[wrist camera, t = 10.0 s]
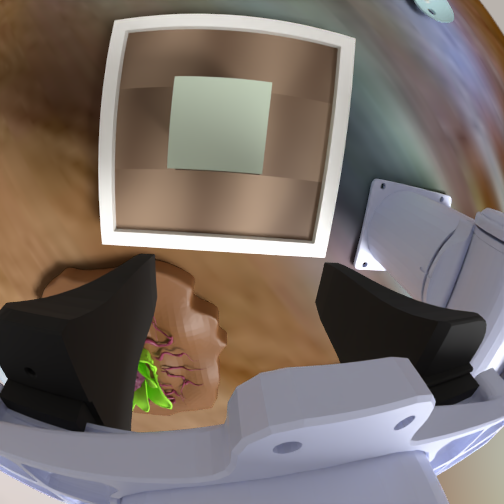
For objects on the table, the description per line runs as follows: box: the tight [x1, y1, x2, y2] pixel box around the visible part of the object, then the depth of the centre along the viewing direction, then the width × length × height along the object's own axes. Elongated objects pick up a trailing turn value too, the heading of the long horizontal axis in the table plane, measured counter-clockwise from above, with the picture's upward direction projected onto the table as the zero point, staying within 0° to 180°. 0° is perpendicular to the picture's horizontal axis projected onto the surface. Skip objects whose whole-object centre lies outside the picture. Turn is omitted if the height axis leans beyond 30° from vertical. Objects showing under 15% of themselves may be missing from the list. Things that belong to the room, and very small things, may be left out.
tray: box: [98, 14, 355, 258], centre depth 17 cm, size 16×16×3 cm
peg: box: [167, 76, 272, 174], centre depth 14 cm, size 4×4×8 cm
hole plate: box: [115, 29, 338, 241], centre depth 17 cm, size 14×14×2 cm
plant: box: [41, 260, 227, 416], centre depth 21 cm, size 20×20×11 cm
